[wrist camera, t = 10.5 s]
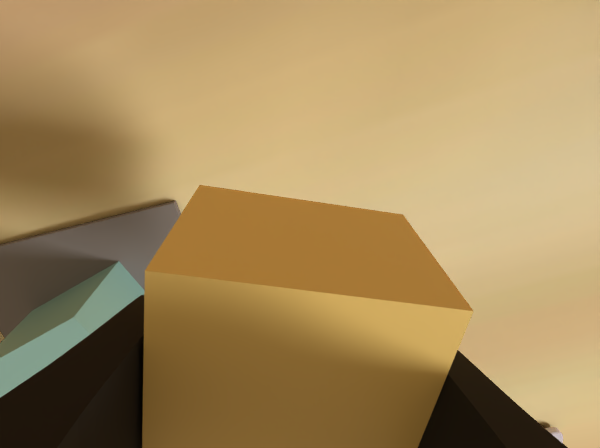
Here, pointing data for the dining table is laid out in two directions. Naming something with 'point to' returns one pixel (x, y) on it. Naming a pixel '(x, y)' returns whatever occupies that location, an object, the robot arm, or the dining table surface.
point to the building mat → (78, 257)
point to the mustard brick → (294, 327)
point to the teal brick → (64, 323)
